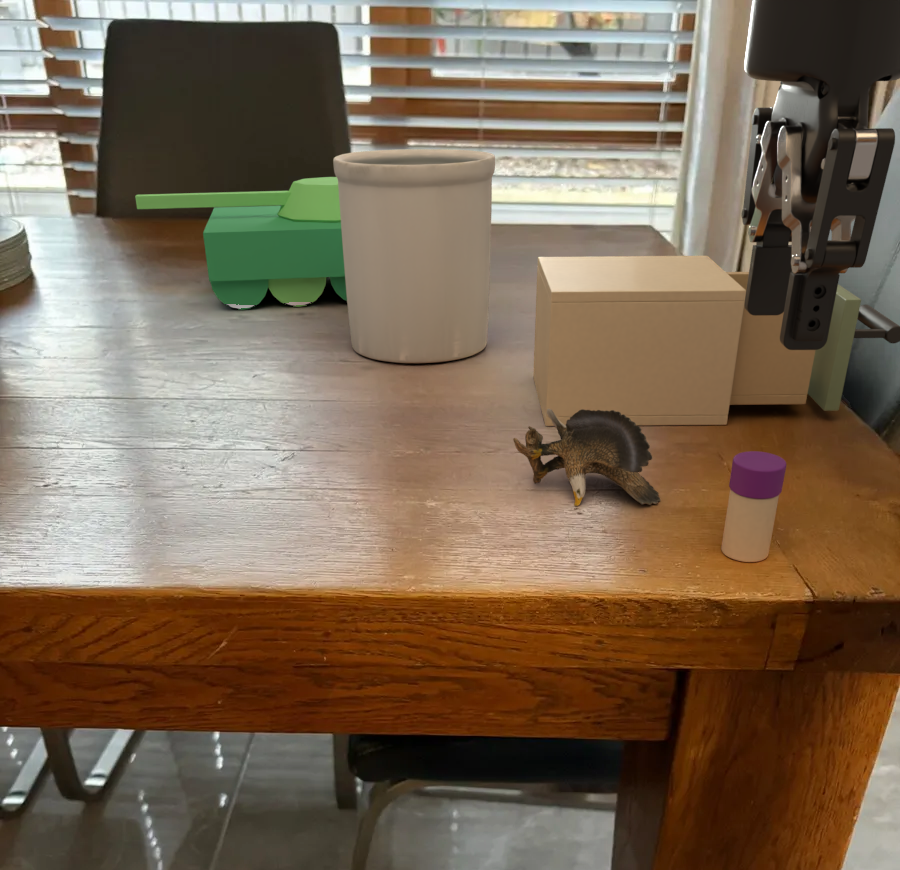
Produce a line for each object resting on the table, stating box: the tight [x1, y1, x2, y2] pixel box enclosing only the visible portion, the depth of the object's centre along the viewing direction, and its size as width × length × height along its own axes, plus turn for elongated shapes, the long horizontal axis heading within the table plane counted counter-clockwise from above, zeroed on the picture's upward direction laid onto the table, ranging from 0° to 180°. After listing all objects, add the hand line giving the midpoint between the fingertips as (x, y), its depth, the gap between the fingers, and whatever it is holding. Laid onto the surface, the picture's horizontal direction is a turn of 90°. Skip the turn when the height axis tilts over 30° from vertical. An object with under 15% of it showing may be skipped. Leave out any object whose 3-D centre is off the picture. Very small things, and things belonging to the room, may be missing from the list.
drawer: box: [725, 271, 900, 412], centre depth 81 cm, size 18×11×9 cm, turn 90°
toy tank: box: [134, 176, 347, 311], centre depth 115 cm, size 18×12×35 cm
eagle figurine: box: [512, 409, 662, 507], centre depth 66 cm, size 8×7×9 cm
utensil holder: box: [332, 148, 496, 364], centre depth 94 cm, size 15×15×18 cm
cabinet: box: [532, 255, 746, 427], centre depth 81 cm, size 15×13×11 cm
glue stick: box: [720, 450, 787, 563], centre depth 58 cm, size 3×3×6 cm
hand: (781, 328), depth 53 cm, fingers open, 6 cm apart
